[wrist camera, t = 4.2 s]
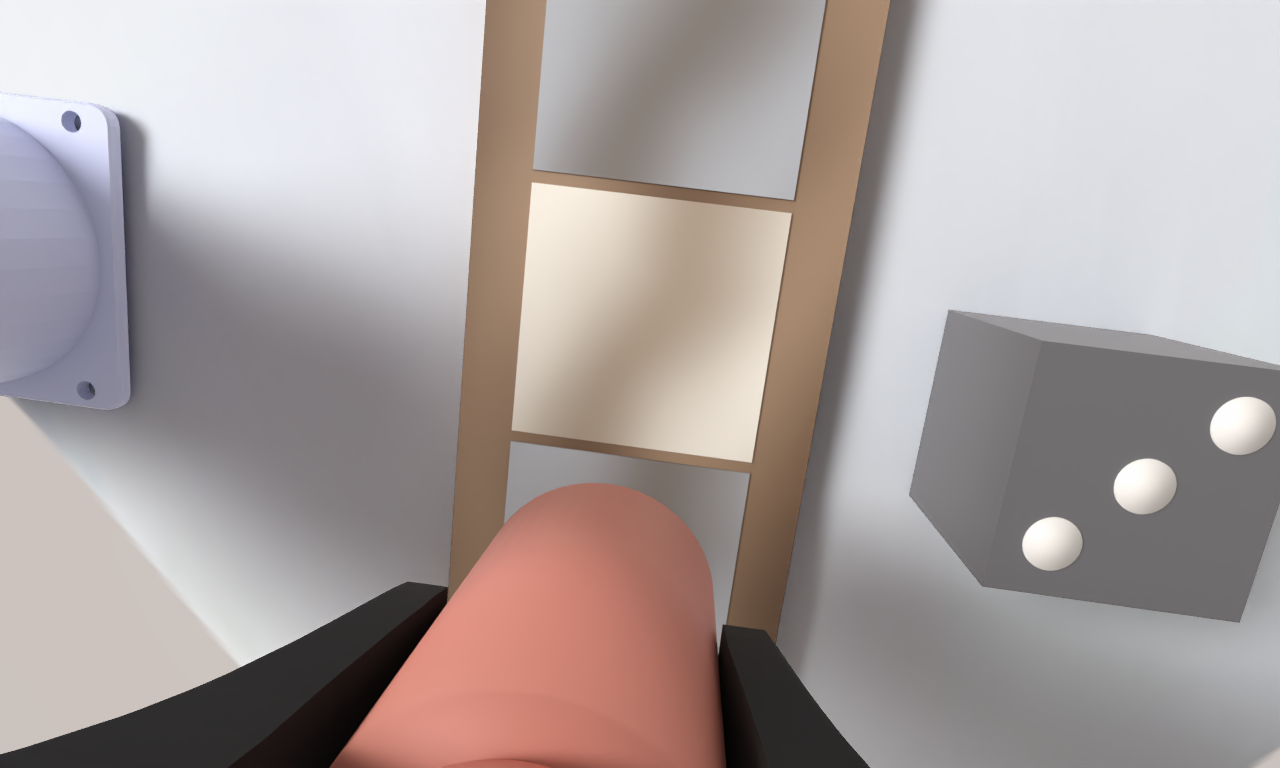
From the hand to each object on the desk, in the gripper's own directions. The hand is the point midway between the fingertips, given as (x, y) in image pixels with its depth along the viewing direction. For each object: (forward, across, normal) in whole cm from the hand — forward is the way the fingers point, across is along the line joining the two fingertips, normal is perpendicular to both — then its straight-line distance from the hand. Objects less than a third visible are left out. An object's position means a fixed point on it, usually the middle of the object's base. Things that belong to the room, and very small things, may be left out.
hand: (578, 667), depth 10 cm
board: (+9, 0, -7) cm, 12 cm away
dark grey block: (+9, -10, -2) cm, 14 cm away
